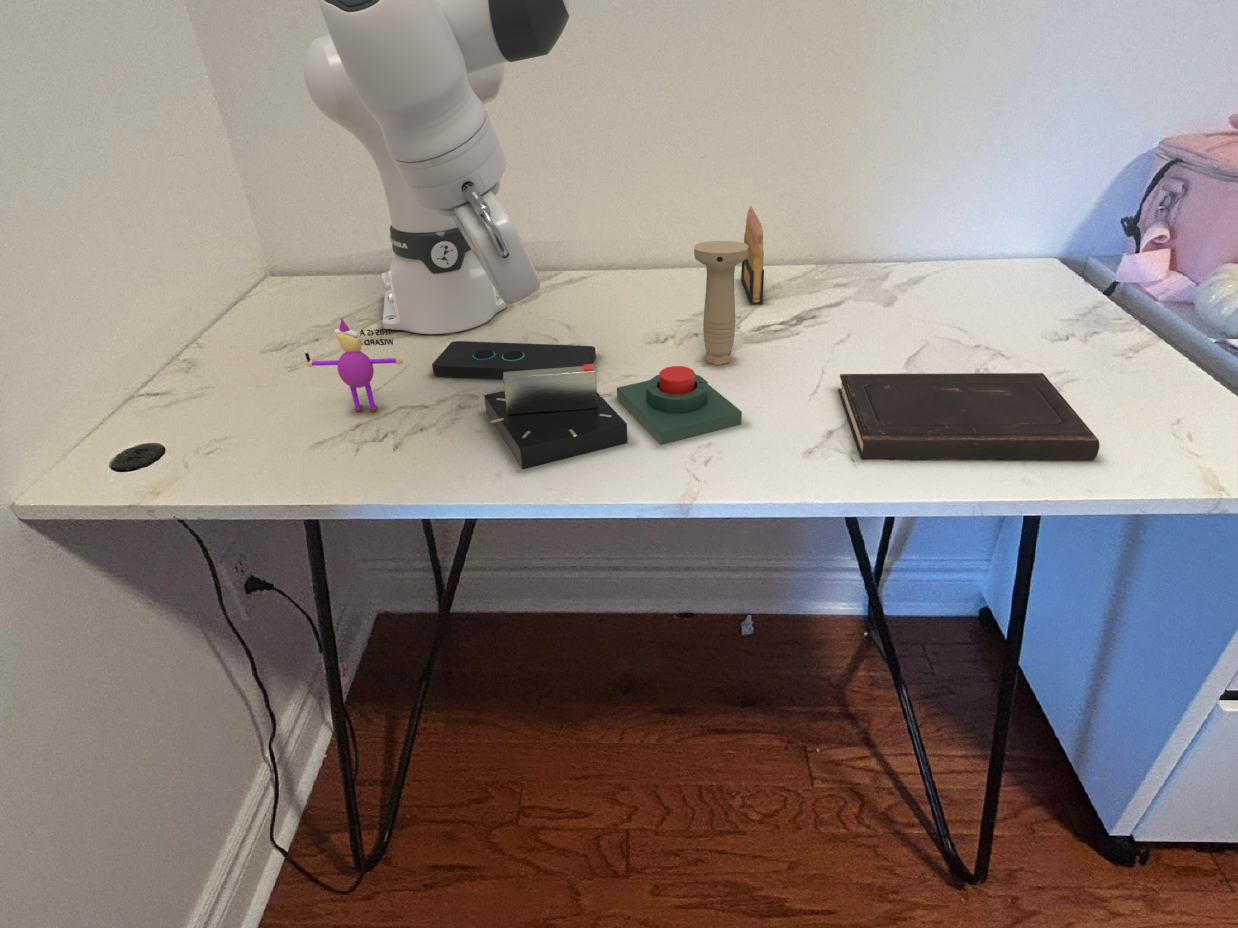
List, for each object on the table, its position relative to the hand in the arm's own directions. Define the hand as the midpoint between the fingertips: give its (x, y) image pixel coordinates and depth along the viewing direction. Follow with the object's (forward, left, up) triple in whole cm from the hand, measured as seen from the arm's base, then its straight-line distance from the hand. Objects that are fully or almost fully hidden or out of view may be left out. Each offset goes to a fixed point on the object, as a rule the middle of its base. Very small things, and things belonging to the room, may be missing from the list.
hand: (510, 285), depth 81 cm
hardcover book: (+18, +44, -18) cm, 50 cm away
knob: (-2, +4, -16) cm, 16 cm away
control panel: (-2, +4, -18) cm, 19 cm away
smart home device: (-20, +5, -18) cm, 27 cm away
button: (+1, +18, -15) cm, 23 cm away
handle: (-9, +29, -18) cm, 35 cm away
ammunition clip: (-29, +46, -18) cm, 57 cm away
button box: (+1, +18, -18) cm, 25 cm away
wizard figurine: (-16, -15, -18) cm, 29 cm away
